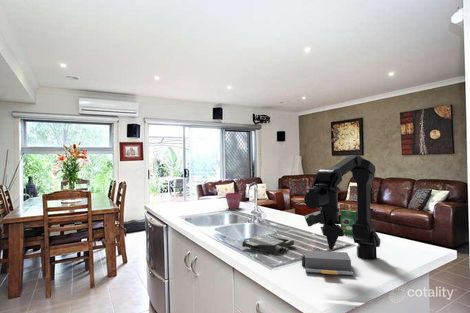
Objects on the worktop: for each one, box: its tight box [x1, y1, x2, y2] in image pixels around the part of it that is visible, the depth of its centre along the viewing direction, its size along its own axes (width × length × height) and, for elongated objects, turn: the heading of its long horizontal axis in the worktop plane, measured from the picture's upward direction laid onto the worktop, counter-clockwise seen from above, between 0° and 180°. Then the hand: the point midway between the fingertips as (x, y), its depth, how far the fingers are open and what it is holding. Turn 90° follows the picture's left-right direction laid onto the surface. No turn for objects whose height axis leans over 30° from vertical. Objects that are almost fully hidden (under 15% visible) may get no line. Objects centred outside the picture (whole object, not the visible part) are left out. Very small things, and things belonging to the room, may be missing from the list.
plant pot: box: [225, 192, 243, 210], centre depth 233 cm, size 14×14×13 cm
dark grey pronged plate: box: [241, 234, 295, 255], centre depth 126 cm, size 16×20×5 cm
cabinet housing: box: [301, 250, 352, 272], centre depth 102 cm, size 17×8×5 cm, turn 76°
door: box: [305, 268, 355, 276], centre depth 94 cm, size 16×1×8 cm
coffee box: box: [340, 209, 357, 236], centre depth 145 cm, size 8×3×13 cm, turn 61°
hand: (330, 249), depth 93 cm, fingers closed
